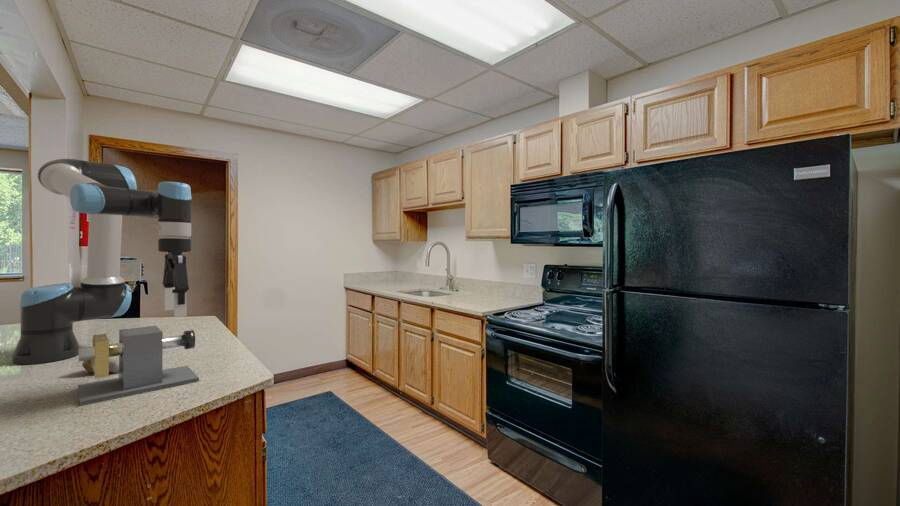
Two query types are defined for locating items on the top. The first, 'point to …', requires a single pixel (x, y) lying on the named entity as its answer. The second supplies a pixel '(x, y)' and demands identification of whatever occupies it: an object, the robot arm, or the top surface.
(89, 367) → the mug
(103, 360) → the block
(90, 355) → the shaft
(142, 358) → the bearing block
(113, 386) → the mat
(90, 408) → the top surface
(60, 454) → the top surface
